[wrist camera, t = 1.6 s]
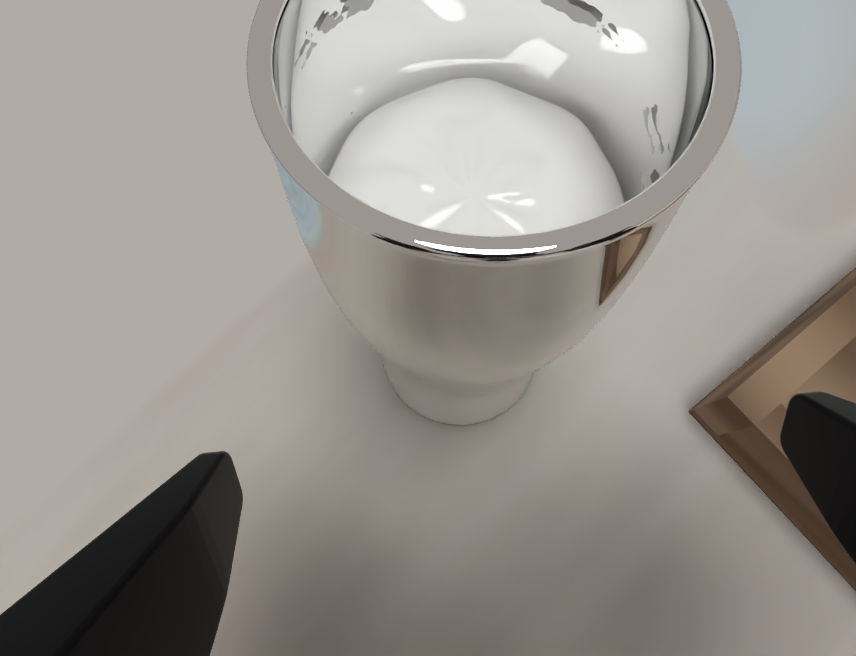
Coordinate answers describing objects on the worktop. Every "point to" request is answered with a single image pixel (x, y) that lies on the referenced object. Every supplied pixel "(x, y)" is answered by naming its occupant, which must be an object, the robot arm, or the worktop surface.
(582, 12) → the beer glass
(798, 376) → the empty pocket
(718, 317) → the worktop surface
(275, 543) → the worktop surface
